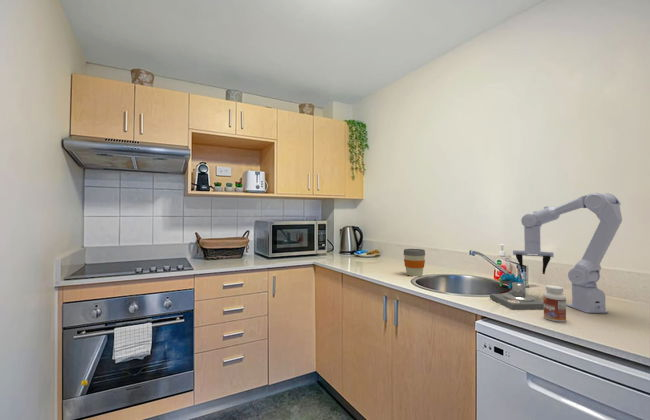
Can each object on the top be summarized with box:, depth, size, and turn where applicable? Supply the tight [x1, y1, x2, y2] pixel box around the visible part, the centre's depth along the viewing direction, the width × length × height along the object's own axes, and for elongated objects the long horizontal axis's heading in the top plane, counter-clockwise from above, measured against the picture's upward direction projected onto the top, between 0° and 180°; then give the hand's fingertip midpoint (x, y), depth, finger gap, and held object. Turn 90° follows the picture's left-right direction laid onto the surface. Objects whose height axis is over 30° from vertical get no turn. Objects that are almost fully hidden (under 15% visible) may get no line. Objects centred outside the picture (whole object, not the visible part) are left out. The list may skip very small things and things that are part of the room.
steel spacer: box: [511, 282, 527, 297], centre depth 123 cm, size 5×5×5 cm
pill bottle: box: [543, 284, 567, 323], centre depth 103 cm, size 6×6×11 cm
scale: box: [489, 292, 544, 311], centre depth 121 cm, size 15×14×3 cm
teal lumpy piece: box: [498, 272, 525, 290], centre depth 147 cm, size 11×6×10 cm
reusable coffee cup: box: [403, 248, 426, 277], centre depth 179 cm, size 13×13×15 cm
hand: (532, 272), depth 131 cm, fingers open, 7 cm apart
